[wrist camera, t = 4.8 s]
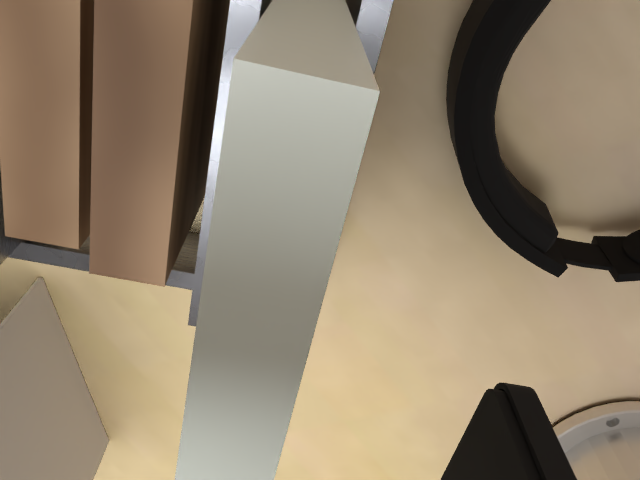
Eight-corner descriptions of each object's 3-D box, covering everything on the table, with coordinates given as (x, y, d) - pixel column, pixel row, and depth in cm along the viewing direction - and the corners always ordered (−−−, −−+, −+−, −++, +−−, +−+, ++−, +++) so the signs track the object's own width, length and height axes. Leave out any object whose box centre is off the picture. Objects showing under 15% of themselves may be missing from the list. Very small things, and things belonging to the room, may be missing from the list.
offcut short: (145, -68, 24) (80, -68, 18) (131, 179, 30) (78, 249, 23) (75, -86, 24) (-18, -92, 17) (75, 168, 29) (5, 235, 23)
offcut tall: (236, -46, 24) (196, -36, 17) (205, 194, 30) (164, 286, 22) (168, -63, 24) (95, -60, 16) (150, 183, 30) (89, 273, 22)
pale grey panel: (336, -21, 25) (380, 91, 7) (287, 211, 31) (245, 581, 13) (293, -32, 25) (233, 58, 7) (251, 204, 30) (162, 571, 13)
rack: (392, -101, 23) (424, -115, 16) (302, 268, 32) (298, 361, 25) (23, -199, 22) (-118, -260, 15) (37, 219, 31) (-46, 303, 24)
